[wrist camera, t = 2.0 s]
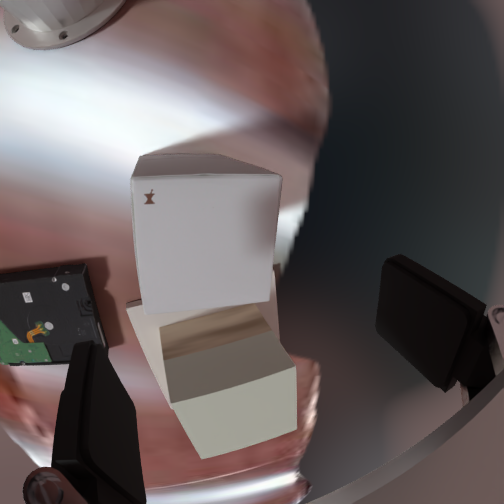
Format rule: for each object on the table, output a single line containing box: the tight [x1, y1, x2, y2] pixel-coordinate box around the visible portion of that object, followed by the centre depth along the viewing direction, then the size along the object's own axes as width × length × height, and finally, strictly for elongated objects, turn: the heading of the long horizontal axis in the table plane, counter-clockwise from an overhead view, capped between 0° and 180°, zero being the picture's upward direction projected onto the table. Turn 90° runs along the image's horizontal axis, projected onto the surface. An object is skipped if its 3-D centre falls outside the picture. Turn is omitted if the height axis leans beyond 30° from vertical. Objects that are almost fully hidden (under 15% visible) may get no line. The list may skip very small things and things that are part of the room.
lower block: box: [159, 303, 272, 361], centre depth 30 cm, size 10×10×5 cm
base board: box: [126, 270, 280, 409], centre depth 32 cm, size 16×15×1 cm
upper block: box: [164, 330, 297, 459], centre depth 25 cm, size 10×10×5 cm
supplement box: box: [131, 154, 282, 315], centre depth 20 cm, size 7×7×13 cm
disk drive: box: [0, 263, 109, 366], centre depth 24 cm, size 10×3×15 cm
